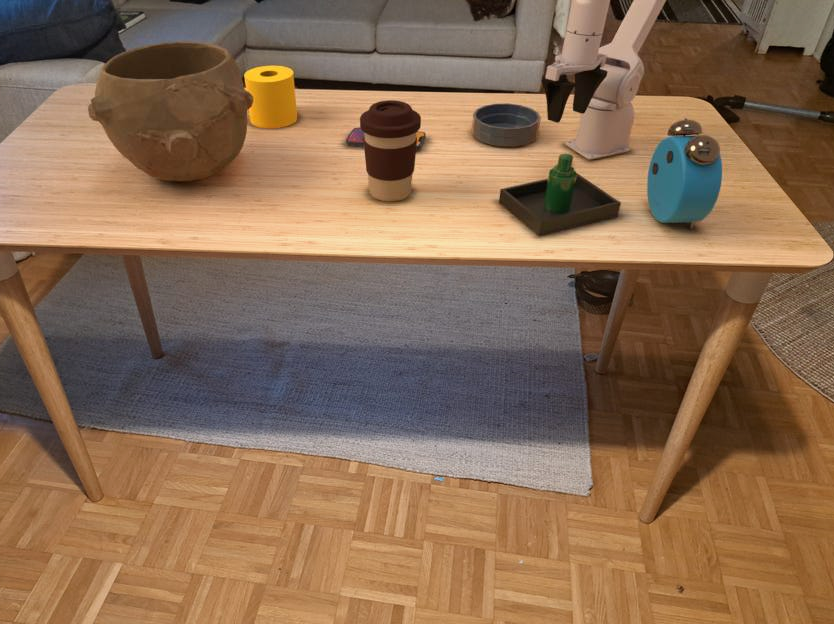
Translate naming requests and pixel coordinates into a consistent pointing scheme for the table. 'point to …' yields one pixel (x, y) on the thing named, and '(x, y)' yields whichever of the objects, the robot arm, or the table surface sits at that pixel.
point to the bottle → (560, 185)
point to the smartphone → (358, 136)
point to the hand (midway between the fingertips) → (566, 116)
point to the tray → (584, 210)
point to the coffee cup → (390, 148)
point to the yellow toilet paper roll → (271, 96)
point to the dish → (505, 124)
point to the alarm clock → (684, 175)
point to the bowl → (173, 108)
